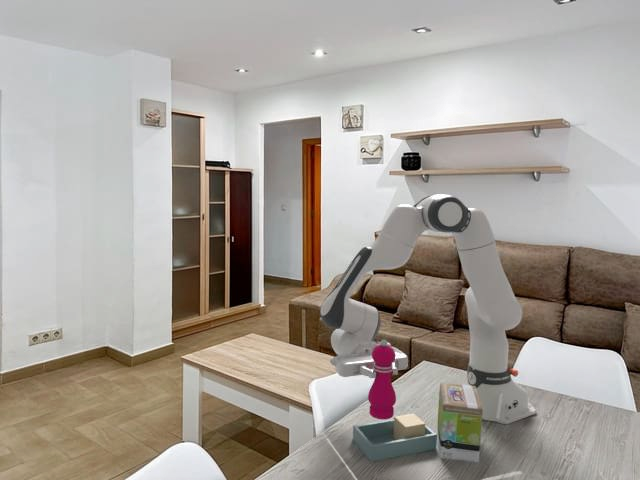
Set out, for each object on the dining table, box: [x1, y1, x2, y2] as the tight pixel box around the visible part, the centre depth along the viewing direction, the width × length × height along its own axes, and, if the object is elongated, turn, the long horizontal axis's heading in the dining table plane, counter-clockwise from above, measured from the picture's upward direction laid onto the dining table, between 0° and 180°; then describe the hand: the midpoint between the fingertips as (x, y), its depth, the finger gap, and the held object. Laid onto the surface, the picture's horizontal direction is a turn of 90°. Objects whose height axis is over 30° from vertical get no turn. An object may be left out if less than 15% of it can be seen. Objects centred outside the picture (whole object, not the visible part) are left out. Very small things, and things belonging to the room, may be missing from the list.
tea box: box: [436, 382, 483, 463], centre depth 125 cm, size 15×10×15 cm, turn 168°
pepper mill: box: [367, 339, 397, 420], centre depth 122 cm, size 7×7×20 cm
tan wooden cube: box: [393, 413, 426, 440], centre depth 127 cm, size 6×6×6 cm
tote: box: [352, 418, 438, 463], centre depth 125 cm, size 19×11×4 cm, turn 110°
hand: (384, 373), depth 121 cm, fingers closed on pepper mill, 5 cm apart
